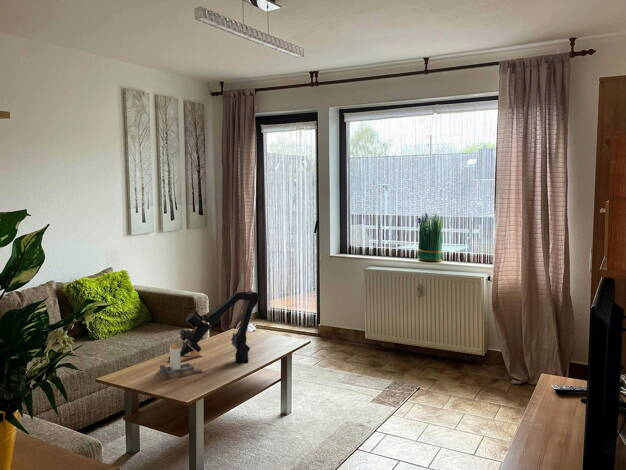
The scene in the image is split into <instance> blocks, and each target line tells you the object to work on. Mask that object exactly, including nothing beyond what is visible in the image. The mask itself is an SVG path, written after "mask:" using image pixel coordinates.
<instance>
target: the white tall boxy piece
mask: <svg viewBox="0 0 626 470" xmlns="http://www.w3.org/2000/svg"><path fill="white" fill-rule="evenodd" d="M180 351H181V348H180V346H179V343H177V342H173V343H172V344H171V345H170V347H169V356H170V361H169V364H170V365H169V366H170V370H171V371H172V370H177V369H181V364H182V363H180Z"/></svg>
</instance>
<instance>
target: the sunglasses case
mask: <svg viewBox="0 0 626 470" xmlns="http://www.w3.org/2000/svg"><path fill="white" fill-rule="evenodd" d="M193 350H194V351H192V352H189V353H187V354H185V355H183V356H181V357H180V363H181V364H182V363H184V362H185V363H186V362H188V361H191V360H194V359H198V358H203V355H201V354H200V352H199V353H198V352H197V351H196V350H195V349H193ZM168 361H169V362H170V355H169V357H168Z"/></svg>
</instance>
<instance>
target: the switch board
mask: <svg viewBox="0 0 626 470" xmlns="http://www.w3.org/2000/svg"><path fill="white" fill-rule="evenodd" d="M202 373H203V369H202V368H201V367H200V366H199V365H197V364H196V363H189V362H187V363H186V362H185V363H183V364H182V363H181V369H177V370H172V371H171V370H170V365H169V366H166V365H165V364H161V365H159V369H158V370H157V374H158V375H159V376H160V377H161V379H163V380H164V381H165V380H171V379H175V378H181V377H187V376H191V375H197V374H202Z"/></svg>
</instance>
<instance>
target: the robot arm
mask: <svg viewBox="0 0 626 470" xmlns="http://www.w3.org/2000/svg"><path fill="white" fill-rule="evenodd" d="M240 300H241V301H243V302H244V309H243V312H242V315H241V318H240V323H239V325H238V330H237V331H236V333H232V337H231V340H230V341H231V345H232V346H233V347H234V349H235V350H236V351H235V362H236V364H244V363H245V364H246V363H247V364H248V363H249V352H250V350H251V348H250V347H249V346H248V345H247V331H248V328H249V325H250V322H251V321H250V320H251V317H252V315H253V314H252V313H253V311H254V308H255V307H256V306H257V304H258V303H259V300H260V295H259V294H258V292H256V291H253V290H248V291H234V293H232V295H231V296H229V297H228V298H227V299H226V300H225V301H223V302H222V303H221V304H220V305H218V307H215V308H213V309H211V310H210V311H208V312H207V313H205V314H202V315H200V314H199V313H198V312H197V311H196V310H194V311H192V312H190V313H189V314H188V315H186V318H185V322H187V323H188V324H189V325H190V326H192V328H195V329H191V330H189V329H184V328H181V329H180V331H179V333H178V334H179V335H180V336H179V338H180V339H181V340H182V341H181V342H182V347H181V348H180V357H181V356H183V355H185V354H187V353H189V352H192V351H194V350H193V349H195V350H196V351H197V352H198V353H199V354H200V352H201V351H202V347H201V346H200V345H199V342H200V341H201V340H202V341H203V339H204V336H205V335H206V334H207V333H208V332H209V330H210V331H211V332H213V331H214V326H213V325H216V324H217V323H218V322H219V321H220V320H221V319H222V317H223V315H224V314H226V312H227V311H228V310H229V309H231V308H232V307H233V306H234V305H235V304H237V302H239V301H240Z"/></svg>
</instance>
